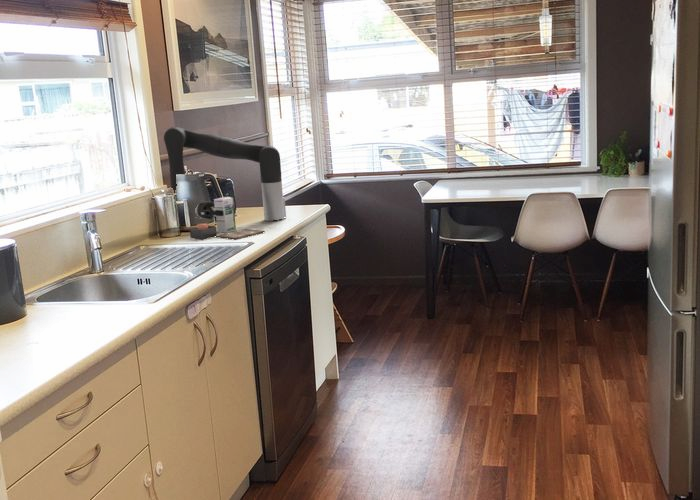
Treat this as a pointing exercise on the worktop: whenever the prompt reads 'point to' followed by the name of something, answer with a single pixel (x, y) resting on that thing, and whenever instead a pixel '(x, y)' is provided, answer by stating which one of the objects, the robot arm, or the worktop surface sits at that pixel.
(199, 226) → the button
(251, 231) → the board
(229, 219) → the syrup box
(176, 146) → the robot arm
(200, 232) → the button housing
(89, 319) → the worktop surface
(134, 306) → the worktop surface
